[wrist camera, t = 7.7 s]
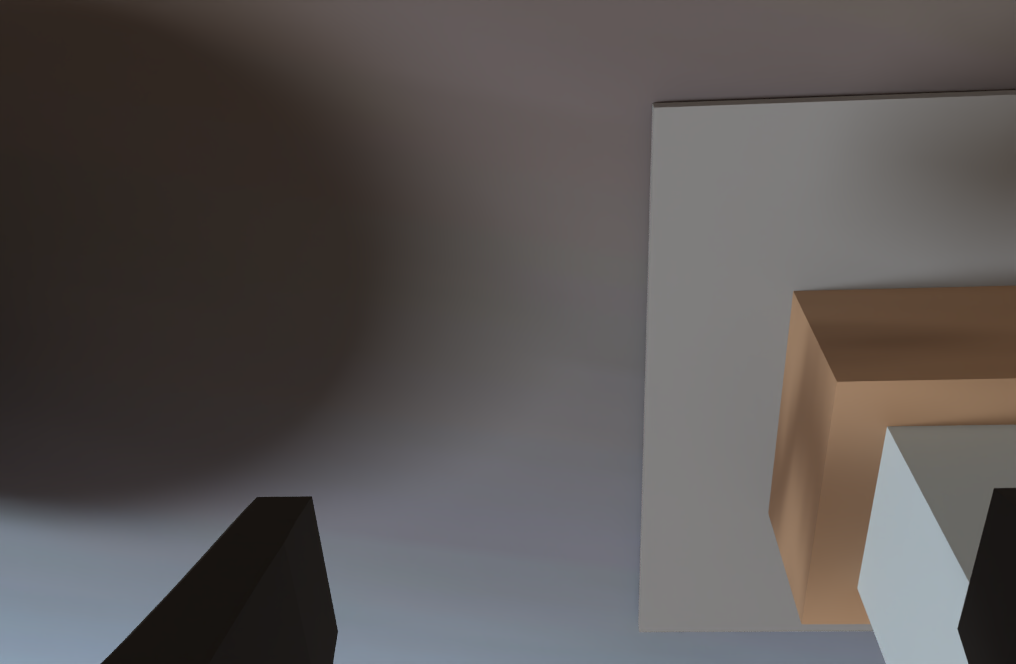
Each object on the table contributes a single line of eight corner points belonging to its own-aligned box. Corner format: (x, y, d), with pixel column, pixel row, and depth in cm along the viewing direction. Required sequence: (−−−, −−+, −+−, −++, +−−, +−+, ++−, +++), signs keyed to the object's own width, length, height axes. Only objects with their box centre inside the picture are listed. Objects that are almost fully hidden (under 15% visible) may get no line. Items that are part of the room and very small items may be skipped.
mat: (1105, 621, 25) (1111, 630, 24) (638, 623, 25) (639, 632, 25) (1304, 79, 18) (1316, 84, 17) (652, 103, 18) (653, 108, 18)
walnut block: (1025, 510, 22) (1099, 622, 19) (768, 513, 23) (801, 624, 20) (1089, 283, 19) (1189, 375, 16) (793, 290, 20) (836, 381, 17)
